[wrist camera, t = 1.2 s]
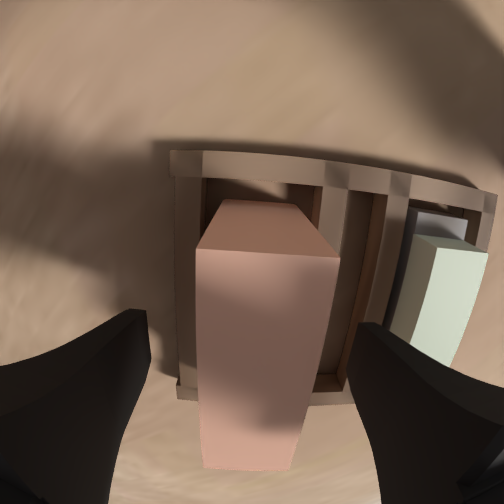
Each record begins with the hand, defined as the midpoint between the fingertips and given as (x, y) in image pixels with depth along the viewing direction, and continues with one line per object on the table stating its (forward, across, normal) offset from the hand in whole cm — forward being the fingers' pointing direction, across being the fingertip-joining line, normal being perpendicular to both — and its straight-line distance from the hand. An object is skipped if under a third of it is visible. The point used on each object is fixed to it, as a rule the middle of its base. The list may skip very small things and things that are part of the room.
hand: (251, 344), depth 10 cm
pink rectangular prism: (+4, 0, 0) cm, 4 cm away
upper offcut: (+3, -8, 0) cm, 9 cm away
